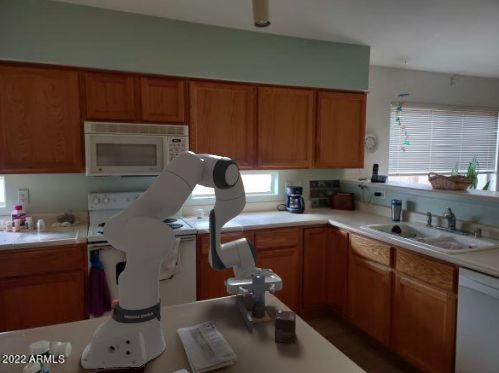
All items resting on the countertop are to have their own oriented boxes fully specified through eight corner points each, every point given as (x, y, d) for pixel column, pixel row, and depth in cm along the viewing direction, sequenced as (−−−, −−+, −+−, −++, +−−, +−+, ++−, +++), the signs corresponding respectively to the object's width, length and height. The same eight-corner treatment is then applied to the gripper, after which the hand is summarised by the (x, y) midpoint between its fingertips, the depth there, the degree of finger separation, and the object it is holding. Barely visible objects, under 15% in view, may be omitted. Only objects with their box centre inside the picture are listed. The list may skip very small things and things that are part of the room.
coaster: (251, 322, 117) (251, 321, 117) (246, 313, 124) (246, 312, 124) (271, 320, 119) (271, 319, 119) (265, 311, 126) (265, 310, 126)
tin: (253, 319, 119) (253, 279, 118) (250, 313, 123) (250, 274, 122) (266, 317, 120) (266, 278, 119) (262, 312, 124) (263, 273, 123)
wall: (249, 329, 113) (249, 320, 112) (239, 308, 128) (239, 300, 128) (252, 329, 113) (252, 320, 113) (242, 308, 128) (242, 300, 128)
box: (294, 344, 105) (294, 320, 104) (274, 341, 106) (274, 318, 105) (295, 334, 111) (296, 311, 110) (276, 331, 112) (277, 309, 111)
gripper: (223, 272, 131) (229, 286, 117) (275, 269, 135) (287, 281, 122) (223, 289, 131) (229, 304, 118) (275, 284, 136) (287, 299, 123)
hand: (259, 292), depth 120 cm, fingers open, 8 cm apart
